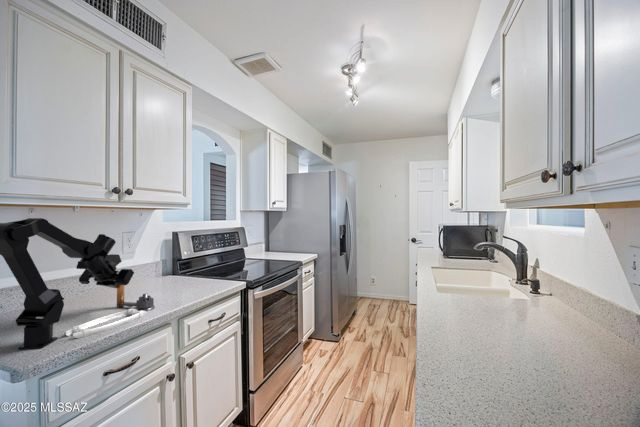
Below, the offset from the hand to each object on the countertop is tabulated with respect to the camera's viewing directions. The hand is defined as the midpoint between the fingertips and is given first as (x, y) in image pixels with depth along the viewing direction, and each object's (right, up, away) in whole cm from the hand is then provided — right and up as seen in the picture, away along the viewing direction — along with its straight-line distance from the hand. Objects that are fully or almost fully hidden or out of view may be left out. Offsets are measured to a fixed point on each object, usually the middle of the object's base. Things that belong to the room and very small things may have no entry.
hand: (117, 287), depth 120 cm
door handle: (+9, -10, -17) cm, 21 cm away
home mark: (+3, -9, +4) cm, 11 cm away
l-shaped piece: (+6, -8, +1) cm, 10 cm away
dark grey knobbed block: (+11, -9, +1) cm, 14 cm away
